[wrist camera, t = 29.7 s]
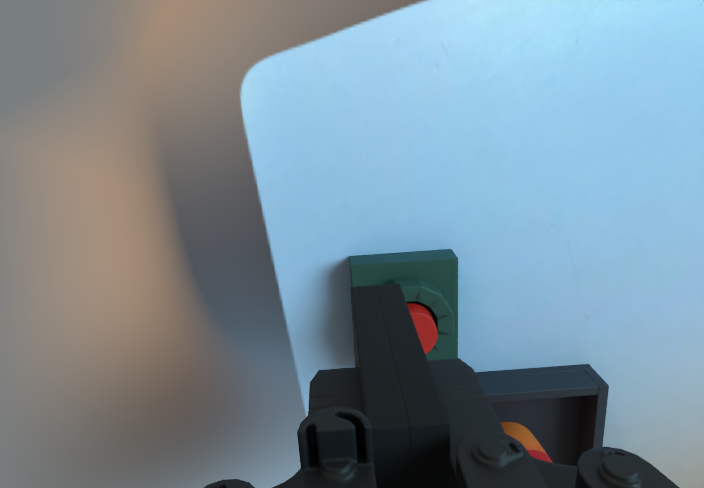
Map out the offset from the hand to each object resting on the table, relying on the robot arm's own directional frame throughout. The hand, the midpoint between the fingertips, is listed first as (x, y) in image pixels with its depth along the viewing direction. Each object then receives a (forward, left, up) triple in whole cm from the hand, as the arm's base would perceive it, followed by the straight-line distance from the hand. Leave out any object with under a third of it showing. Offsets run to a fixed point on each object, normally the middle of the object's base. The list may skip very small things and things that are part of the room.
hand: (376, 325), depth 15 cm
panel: (+4, -10, -23) cm, 25 cm away
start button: (+4, -10, -19) cm, 22 cm away
